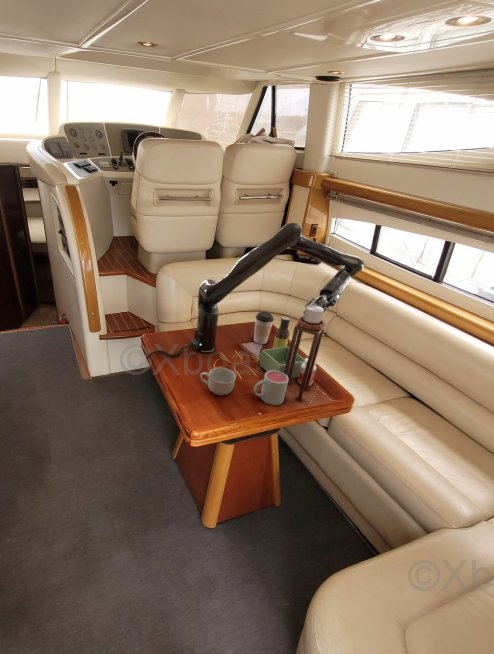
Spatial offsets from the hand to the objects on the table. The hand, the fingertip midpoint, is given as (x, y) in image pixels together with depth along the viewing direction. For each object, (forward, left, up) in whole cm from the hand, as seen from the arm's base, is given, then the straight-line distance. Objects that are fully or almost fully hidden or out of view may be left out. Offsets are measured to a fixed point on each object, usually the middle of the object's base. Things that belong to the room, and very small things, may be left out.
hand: (312, 312), depth 158 cm
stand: (-11, -12, -29) cm, 33 cm away
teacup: (-42, -2, -29) cm, 51 cm away
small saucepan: (-7, -8, +1) cm, 11 cm away
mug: (-25, -13, -29) cm, 40 cm away
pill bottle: (-2, -8, -29) cm, 30 cm away
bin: (-6, +4, -29) cm, 30 cm away
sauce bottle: (0, +15, -29) cm, 33 cm away
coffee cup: (+1, +32, -29) cm, 44 cm away
